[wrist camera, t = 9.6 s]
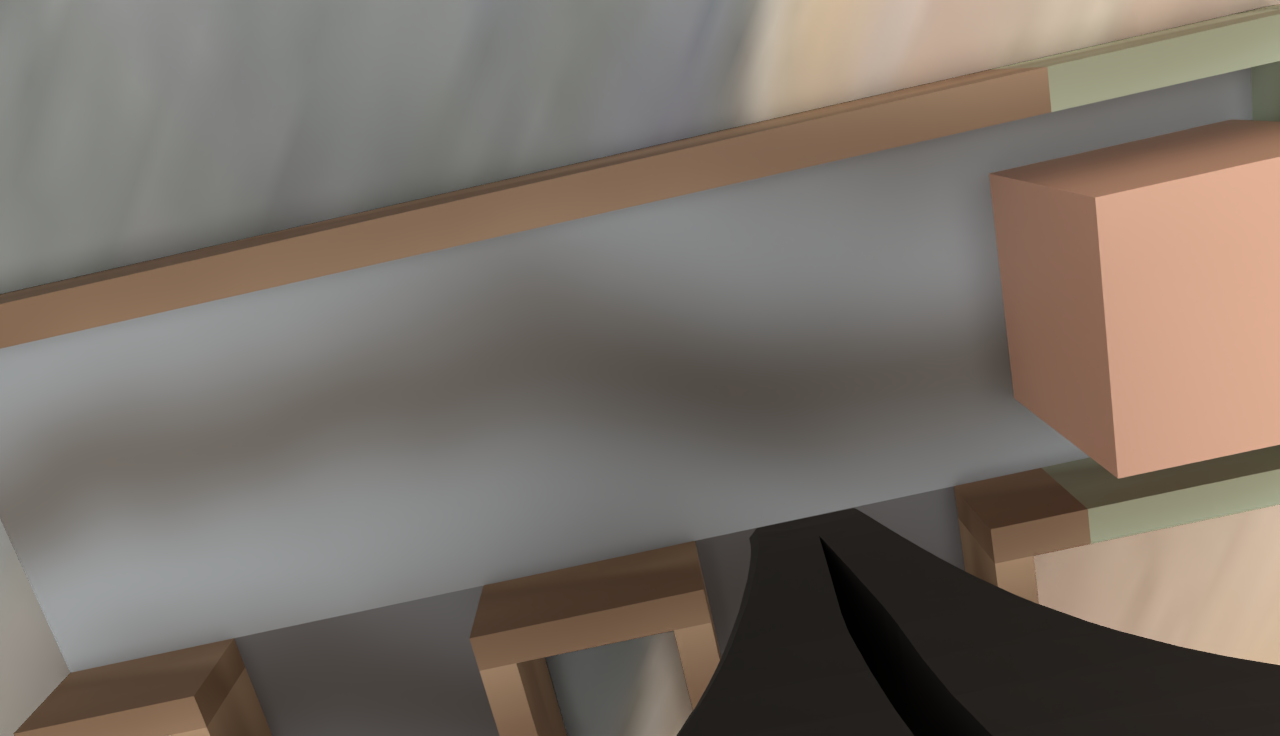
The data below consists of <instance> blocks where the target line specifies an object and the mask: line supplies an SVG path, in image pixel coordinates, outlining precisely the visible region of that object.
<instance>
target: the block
mask: <svg viewBox="0 0 1280 736" xmlns="http://www.w3.org/2000/svg"><path fill="white" fill-rule="evenodd" d="M989 179H990V188H991V197H992V206H993V215H994V223H995V232H996V241H997V250H998V259H999V268H1000V277H1001V286H1002V295H1003V304H1004V312H1005V321H1006V330H1007V339H1008V348H1009V357H1010V366H1011V375H1012V384H1013V392H1014V399H1016V400H1017V401H1018V402H1020V403H1021V404H1022V405H1023V406H1025V407H1026V408H1027V409H1029V410H1030V411H1031V412H1033V413H1034V414H1035V415H1036V416H1038V417H1039V418H1040V419H1042V420H1043V421H1044V422H1045V423H1047V424H1048V425H1049V426H1051V427H1052V428H1053V429H1054V430H1056V431H1057V432H1058V433H1060V434H1061V435H1062V436H1064V437H1065V438H1066V439H1067V440H1069V441H1070V442H1071V443H1073V444H1074V445H1075V446H1076V447H1078V448H1079V449H1080V450H1082V451H1083V452H1084V453H1085V454H1087V455H1088V456H1089V457H1091V458H1092V459H1093V460H1095V461H1096V462H1097V463H1098V464H1100V465H1101V466H1102V467H1104V468H1105V469H1106V470H1107V471H1109V472H1110V473H1111V474H1113V475H1114V476H1115V477H1116V478H1118V479H1119V478H1124V477H1128V476H1133V475H1138V474H1143V473H1147V472H1152V471H1157V470H1162V469H1166V468H1171V467H1176V466H1181V465H1185V464H1190V463H1195V462H1200V461H1204V460H1209V459H1214V458H1219V457H1223V456H1228V455H1233V454H1238V453H1242V452H1247V451H1252V450H1257V449H1261V448H1266V447H1271V446H1276V445H1280V122H1275V121H1255V120H1235V119H1231V120H1226V121H1222V122H1217V123H1213V124H1208V125H1204V126H1199V127H1195V128H1190V129H1186V130H1181V131H1177V132H1172V133H1168V134H1164V135H1159V136H1155V137H1150V138H1146V139H1141V140H1137V141H1132V142H1128V143H1123V144H1119V145H1114V146H1110V147H1105V148H1101V149H1096V150H1092V151H1088V152H1083V153H1079V154H1074V155H1070V156H1065V157H1061V158H1056V159H1052V160H1047V161H1043V162H1038V163H1034V164H1029V165H1025V166H1020V167H1016V168H1011V169H1007V170H1003V171H998V172H994V173H989Z"/></svg>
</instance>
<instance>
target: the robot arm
mask: <svg viewBox="0 0 1280 736" xmlns="http://www.w3.org/2000/svg"><path fill="white" fill-rule="evenodd" d="M749 540H750V545H751V559H750V566H749V572H748V578H747V582H746V586H745V590H744V594H743V598H742V601H741V605H740V609H739V612H738V615H737V618H736V621H735V624H734V626H733V629H732V632H731V634H730V637H729V639H728V642H727V645H726V647H725V650H724V653H723V655H722V657H721V659H720V661H719V664H718V666H717V668H716V670H715V672H714V674H713V676H712V678H711V680H710V682H709V684H708V686H707V687H706V689H705V691H704V693H703V695H702V697H701V698H700V700H699V702H698V704H697V705H696V707H695V708H694V710H693V711H692V713H691V715H690V716H689V718H688V719H687V721H686V722H685V724H684V725H683V727H682V728H681V730H680V731H679V733H678V734H677V736H1280V665H1274V664H1268V663H1262V662H1256V661H1250V660H1244V659H1238V658H1233V657H1227V656H1222V655H1217V654H1212V653H1207V652H1202V651H1197V650H1193V649H1188V648H1183V647H1179V646H1175V645H1171V644H1167V643H1163V642H1159V641H1155V640H1151V639H1148V638H1144V637H1140V636H1136V635H1132V634H1128V633H1124V632H1120V631H1117V630H1114V629H1110V628H1107V627H1104V626H1100V625H1097V624H1094V623H1091V622H1087V621H1085V620H1082V619H1079V618H1076V617H1073V616H1071V615H1068V614H1065V613H1062V612H1059V611H1056V610H1054V609H1051V608H1048V607H1045V606H1042V605H1040V604H1037V603H1034V602H1032V601H1030V600H1027V599H1025V598H1022V597H1020V596H1017V595H1015V594H1013V593H1010V592H1008V591H1006V590H1004V589H1002V588H999V587H997V586H995V585H993V584H991V583H989V582H986V581H984V580H982V579H980V578H978V577H976V576H973V575H971V574H970V573H968V572H966V571H964V570H962V569H960V568H958V567H956V566H954V565H952V564H950V563H948V562H946V561H944V560H942V559H941V558H939V557H937V556H935V555H933V554H932V553H930V552H928V551H926V550H924V549H923V548H921V547H919V546H917V545H916V544H914V543H912V542H911V541H909V540H907V539H905V538H904V537H902V536H900V535H899V534H897V533H895V532H894V531H892V530H890V529H889V528H887V527H886V526H884V525H882V524H881V523H879V522H877V521H876V520H874V519H873V518H871V517H869V516H868V515H866V514H864V513H863V512H861V511H859V510H857V509H856V508H851V509H846V510H841V511H836V512H831V513H827V514H822V515H817V516H812V517H807V518H802V519H798V520H793V521H788V522H783V523H778V524H774V525H769V526H764V527H759V528H756V530H755V531H754V532H753V534H752V535H751V536H750V538H749Z"/></svg>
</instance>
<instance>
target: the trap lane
mask: <svg viewBox="0 0 1280 736" xmlns="http://www.w3.org/2000/svg"><path fill="white" fill-rule="evenodd" d="M1231 119H1235V120H1255V121H1275V122H1280V4H1279V5H1272V6H1268V7H1263V8H1259V9H1254V10H1250V11H1246V12H1241V13H1237V14H1232V15H1228V16H1223V17H1219V18H1215V19H1210V20H1206V21H1201V22H1197V23H1193V24H1188V25H1184V26H1179V27H1175V28H1171V29H1166V30H1162V31H1157V32H1153V33H1149V34H1144V35H1140V36H1135V37H1131V38H1127V39H1122V40H1118V41H1113V42H1109V43H1105V44H1100V45H1096V46H1091V47H1087V48H1083V49H1078V50H1074V51H1069V52H1065V53H1061V54H1056V55H1052V56H1047V57H1043V58H1039V59H1034V60H1030V61H1025V62H1021V63H1017V64H1012V65H1008V66H1003V67H999V68H995V69H990V70H986V71H981V72H977V73H973V74H968V75H964V76H959V77H955V78H951V79H946V80H942V81H937V82H933V83H929V84H924V85H920V86H915V87H911V88H907V89H902V90H898V91H893V92H889V93H885V94H880V95H876V96H871V97H867V98H863V99H858V100H854V101H849V102H845V103H841V104H836V105H832V106H827V107H823V108H819V109H814V110H810V111H805V112H801V113H797V114H792V115H788V116H783V117H779V118H774V119H770V120H766V121H761V122H757V123H752V124H748V125H744V126H739V127H735V128H730V129H726V130H722V131H717V132H713V133H708V134H704V135H700V136H695V137H691V138H686V139H682V140H678V141H673V142H669V143H664V144H660V145H656V146H651V147H647V148H642V149H638V150H634V151H629V152H625V153H620V154H616V155H612V156H607V157H603V158H598V159H594V160H590V161H585V162H581V163H576V164H572V165H568V166H563V167H559V168H554V169H550V170H546V171H541V172H537V173H532V174H528V175H524V176H519V177H515V178H510V179H506V180H502V181H497V182H493V183H488V184H484V185H480V186H475V187H471V188H466V189H462V190H458V191H453V192H449V193H444V194H440V195H436V196H431V197H427V198H422V199H418V200H414V201H409V202H405V203H400V204H396V205H392V206H387V207H383V208H378V209H374V210H370V211H365V212H361V213H356V214H352V215H348V216H343V217H339V218H334V219H330V220H325V221H321V222H317V223H312V224H308V225H303V226H299V227H295V228H290V229H286V230H281V231H277V232H273V233H268V234H264V235H259V236H255V237H251V238H246V239H242V240H237V241H233V242H229V243H224V244H220V245H215V246H211V247H207V248H202V249H198V250H193V251H189V252H185V253H180V254H176V255H171V256H167V257H163V258H158V259H154V260H149V261H145V262H141V263H136V264H132V265H127V266H123V267H119V268H114V269H110V270H105V271H101V272H97V273H92V274H88V275H83V276H79V277H75V278H70V279H66V280H61V281H57V282H53V283H48V284H44V285H39V286H35V287H31V288H26V289H22V290H17V291H13V292H9V293H4V294H0V519H1V521H2V523H3V526H4V528H5V530H6V532H7V534H8V537H9V539H10V541H11V543H12V545H13V548H14V550H15V552H16V554H17V556H18V559H19V561H20V563H21V565H22V567H23V570H24V572H25V574H26V576H27V578H28V581H29V583H30V585H31V587H32V589H33V592H34V594H35V596H36V598H37V600H38V603H39V605H40V607H41V609H42V611H43V613H44V616H45V618H46V620H47V622H48V624H49V627H50V629H51V631H52V633H53V635H54V638H55V640H56V642H57V644H58V646H59V649H60V651H61V653H62V655H63V657H64V660H65V662H66V664H67V666H68V668H69V671H70V674H69V675H68V676H67V677H66V678H65V679H64V680H63V681H62V682H61V683H60V684H59V686H58V687H57V688H56V689H55V690H54V691H53V692H52V693H51V694H50V695H49V696H48V697H47V698H46V700H45V701H44V702H43V703H42V704H41V705H40V706H39V707H38V708H37V709H36V710H35V711H34V712H33V713H32V715H31V716H30V717H29V718H28V719H27V720H26V721H25V722H24V723H23V724H22V725H21V726H20V727H19V729H18V730H17V731H16V732H15V733H14V736H169V735H171V736H567V734H566V730H565V727H564V723H563V720H562V716H561V713H560V709H559V706H558V702H557V699H556V695H555V692H554V688H553V685H552V681H551V678H550V674H549V671H548V667H547V664H546V660H545V657H549V656H554V655H558V654H563V653H568V652H573V651H578V650H582V649H587V648H592V647H597V646H602V645H606V644H611V643H616V642H621V641H626V640H630V639H635V638H640V637H645V636H650V635H655V634H659V633H664V632H669V631H674V633H675V638H676V642H677V646H678V650H679V654H680V659H681V663H682V667H683V671H684V675H685V679H686V684H687V688H688V692H689V696H690V700H691V705H692V709H693V710H694V708H695V707H696V705H697V704H698V702H699V700H700V698H701V697H702V695H703V693H704V691H705V689H706V687H707V686H708V684H709V682H710V680H711V678H712V676H713V674H714V672H715V670H716V668H717V666H718V664H719V661H720V659H721V657H722V655H723V653H724V650H725V647H726V645H727V642H728V639H729V637H730V634H731V632H732V629H733V626H734V624H735V621H736V618H737V615H738V612H739V609H740V605H741V601H742V598H743V594H744V590H745V586H746V582H747V578H748V572H749V566H750V559H751V545H750V540H749V538H750V536H751V535H752V534H753V532H754V531H755V530H756V528H759V527H764V526H769V525H774V524H778V523H783V522H788V521H793V520H798V519H802V518H807V517H812V516H817V515H822V514H827V513H831V512H836V511H841V510H846V509H851V508H856V509H857V510H859V511H861V512H863V513H864V514H866V515H868V516H869V517H871V518H873V519H874V520H876V521H877V522H879V523H881V524H882V525H884V526H886V527H887V528H889V529H890V530H892V531H894V532H895V533H897V534H899V535H900V536H902V537H904V538H905V539H907V540H909V541H911V542H912V543H914V544H916V545H917V546H919V547H921V548H923V549H924V550H926V551H928V552H930V553H932V554H933V555H935V556H937V557H939V558H941V559H942V560H944V561H946V562H948V563H950V564H952V565H954V566H956V567H958V568H960V569H962V570H964V571H966V572H968V573H970V574H971V575H973V576H976V577H978V578H980V579H982V580H984V581H986V582H989V583H991V584H993V585H995V586H997V587H999V588H1002V589H1004V590H1006V591H1008V592H1010V593H1013V594H1015V595H1017V596H1020V597H1022V598H1025V599H1027V600H1030V601H1032V602H1034V603H1037V604H1039V602H1038V593H1037V584H1036V575H1035V566H1034V557H1033V556H1035V555H1039V554H1044V553H1049V552H1054V551H1059V550H1064V549H1068V548H1073V547H1078V546H1083V545H1088V544H1092V543H1097V542H1102V541H1107V540H1112V539H1116V538H1121V537H1126V536H1131V535H1136V534H1140V533H1145V532H1150V531H1155V530H1160V529H1165V528H1169V527H1174V526H1179V525H1184V524H1189V523H1193V522H1198V521H1203V520H1208V519H1213V518H1217V517H1222V516H1227V515H1232V514H1237V513H1242V512H1246V511H1251V510H1256V509H1261V508H1266V507H1270V506H1275V505H1280V445H1276V446H1271V447H1266V448H1261V449H1257V450H1252V451H1247V452H1242V453H1238V454H1233V455H1228V456H1223V457H1219V458H1214V459H1209V460H1204V461H1200V462H1195V463H1190V464H1185V465H1181V466H1176V467H1171V468H1166V469H1162V470H1157V471H1152V472H1147V473H1143V474H1138V475H1133V476H1128V477H1124V478H1119V479H1118V478H1116V477H1115V476H1114V475H1113V474H1111V473H1110V472H1109V471H1107V470H1106V469H1105V468H1104V467H1102V466H1101V465H1100V464H1098V463H1097V462H1096V461H1095V460H1093V459H1092V458H1091V457H1089V456H1088V455H1087V454H1085V453H1084V452H1083V451H1082V450H1080V449H1079V448H1078V447H1076V446H1075V445H1074V444H1073V443H1071V442H1070V441H1069V440H1067V439H1066V438H1065V437H1064V436H1062V435H1061V434H1060V433H1058V432H1057V431H1056V430H1054V429H1053V428H1052V427H1051V426H1049V425H1048V424H1047V423H1045V422H1044V421H1043V420H1042V419H1040V418H1039V417H1038V416H1036V415H1035V414H1034V413H1033V412H1031V411H1030V410H1029V409H1027V408H1026V407H1025V406H1023V405H1022V404H1021V403H1020V402H1018V401H1017V400H1016V399H1014V392H1013V384H1012V375H1011V366H1010V357H1009V348H1008V339H1007V330H1006V321H1005V312H1004V304H1003V295H1002V286H1001V277H1000V268H999V259H998V250H997V241H996V232H995V223H994V215H993V206H992V197H991V188H990V179H989V173H994V172H998V171H1003V170H1007V169H1011V168H1016V167H1020V166H1025V165H1029V164H1034V163H1038V162H1043V161H1047V160H1052V159H1056V158H1061V157H1065V156H1070V155H1074V154H1079V153H1083V152H1088V151H1092V150H1096V149H1101V148H1105V147H1110V146H1114V145H1119V144H1123V143H1128V142H1132V141H1137V140H1141V139H1146V138H1150V137H1155V136H1159V135H1164V134H1168V133H1172V132H1177V131H1181V130H1186V129H1190V128H1195V127H1199V126H1204V125H1208V124H1213V123H1217V122H1222V121H1226V120H1231Z"/></svg>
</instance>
